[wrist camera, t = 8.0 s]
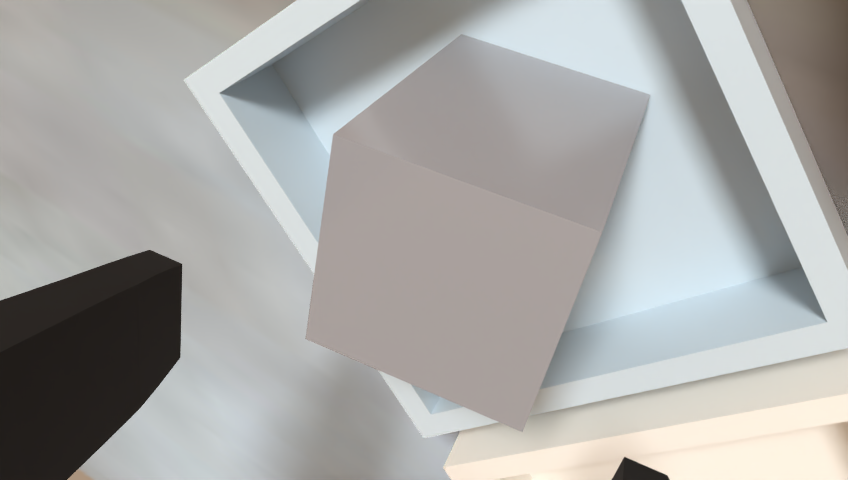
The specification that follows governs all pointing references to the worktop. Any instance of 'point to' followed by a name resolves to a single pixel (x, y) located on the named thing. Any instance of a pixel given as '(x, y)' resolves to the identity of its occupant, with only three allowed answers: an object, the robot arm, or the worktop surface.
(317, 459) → the worktop surface
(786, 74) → the worktop surface
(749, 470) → the bin
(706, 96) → the bin
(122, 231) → the worktop surface
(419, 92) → the stone block
